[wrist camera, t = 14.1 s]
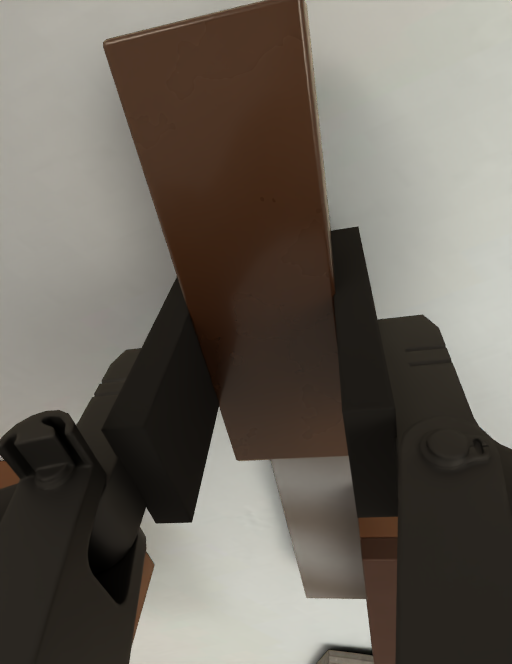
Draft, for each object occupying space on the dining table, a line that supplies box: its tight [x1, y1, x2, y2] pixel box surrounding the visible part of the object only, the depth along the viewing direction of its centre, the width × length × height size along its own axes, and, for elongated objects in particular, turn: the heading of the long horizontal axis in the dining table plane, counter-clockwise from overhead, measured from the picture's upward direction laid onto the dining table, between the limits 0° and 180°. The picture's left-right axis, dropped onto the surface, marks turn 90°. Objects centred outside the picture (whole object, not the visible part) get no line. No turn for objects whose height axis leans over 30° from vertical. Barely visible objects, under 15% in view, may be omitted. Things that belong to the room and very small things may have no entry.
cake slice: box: [358, 517, 398, 664], centre depth 19 cm, size 10×4×5 cm, turn 11°
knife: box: [103, 0, 366, 599], centre depth 15 cm, size 24×3×4 cm, turn 11°
